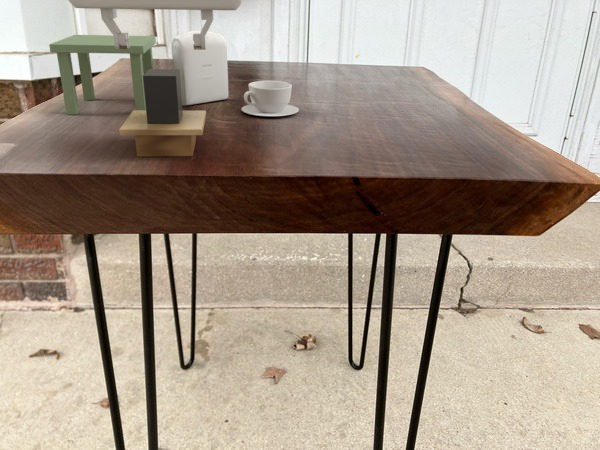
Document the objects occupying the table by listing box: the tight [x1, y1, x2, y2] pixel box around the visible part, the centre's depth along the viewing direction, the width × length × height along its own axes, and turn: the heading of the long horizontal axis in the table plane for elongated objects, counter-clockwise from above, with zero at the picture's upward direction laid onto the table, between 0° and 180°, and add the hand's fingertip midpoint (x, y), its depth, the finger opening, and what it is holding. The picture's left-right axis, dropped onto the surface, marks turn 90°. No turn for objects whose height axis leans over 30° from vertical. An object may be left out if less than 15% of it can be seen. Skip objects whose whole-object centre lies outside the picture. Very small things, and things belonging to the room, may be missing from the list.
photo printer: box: [171, 29, 229, 107], centre depth 95 cm, size 10×4×12 cm, turn 133°
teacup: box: [240, 80, 300, 117], centre depth 91 cm, size 10×10×5 cm
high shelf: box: [48, 34, 157, 116], centre depth 90 cm, size 14×14×11 cm
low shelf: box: [118, 109, 207, 158], centre depth 70 cm, size 10×10×4 cm
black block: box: [143, 68, 184, 124], centre depth 68 cm, size 4×5×6 cm
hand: (161, 48), depth 66 cm, fingers open, 8 cm apart
